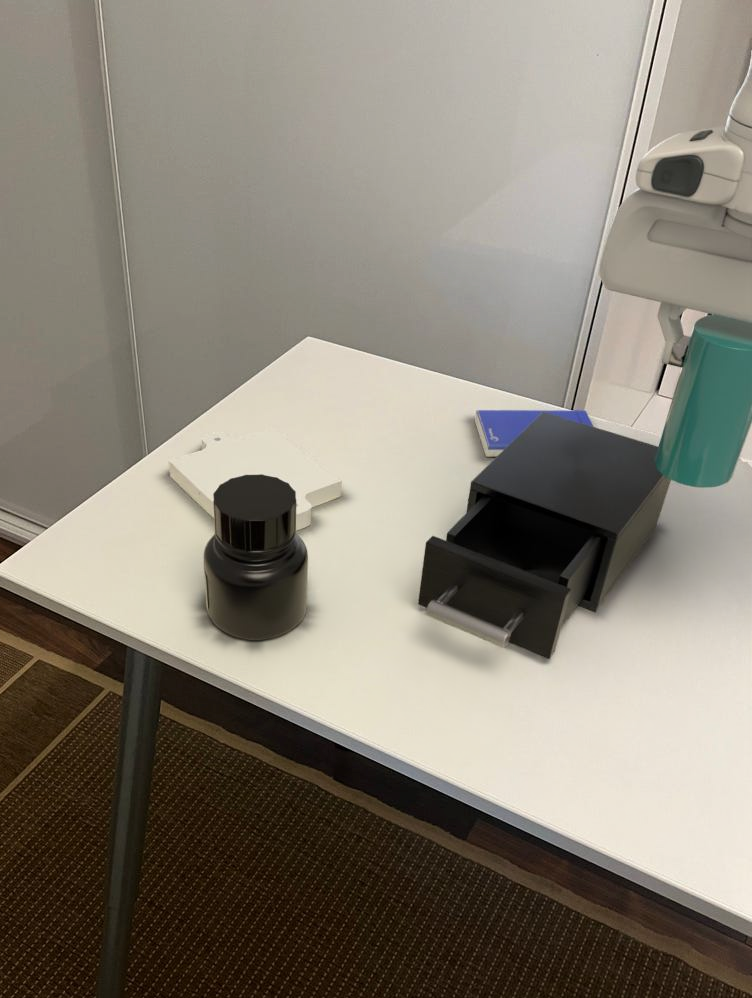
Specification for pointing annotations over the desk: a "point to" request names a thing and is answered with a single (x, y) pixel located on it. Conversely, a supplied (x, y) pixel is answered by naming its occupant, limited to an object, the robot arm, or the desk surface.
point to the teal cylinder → (709, 405)
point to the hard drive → (513, 425)
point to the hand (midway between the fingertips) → (722, 375)
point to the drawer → (509, 574)
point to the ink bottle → (255, 559)
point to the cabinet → (582, 488)
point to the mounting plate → (255, 469)
